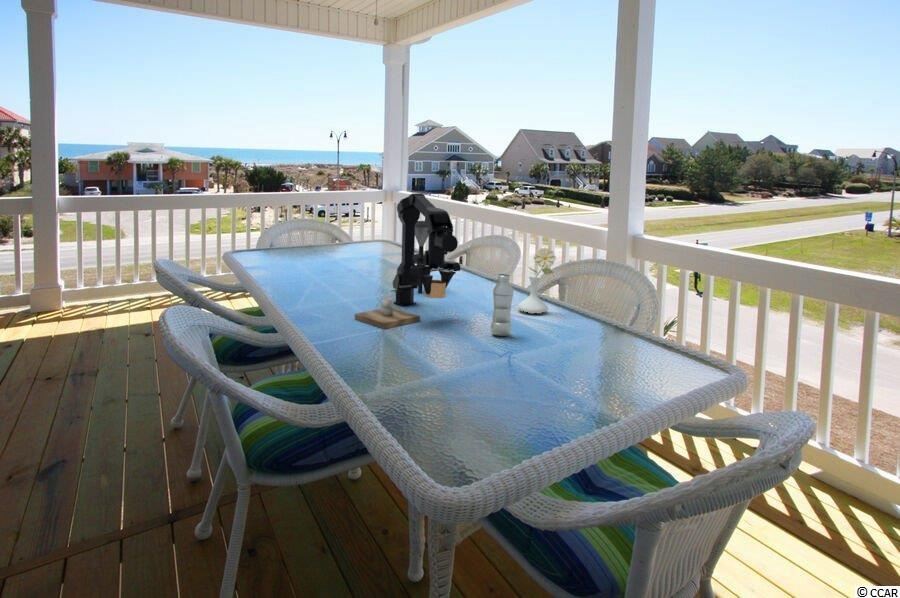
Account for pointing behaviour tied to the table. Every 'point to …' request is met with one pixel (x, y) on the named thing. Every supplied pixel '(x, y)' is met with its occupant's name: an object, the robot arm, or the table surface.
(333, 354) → the table surface
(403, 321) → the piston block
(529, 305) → the flower in vase
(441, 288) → the brown octagonal cup
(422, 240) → the solar garden light
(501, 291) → the plastic bottle
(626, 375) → the table surface
